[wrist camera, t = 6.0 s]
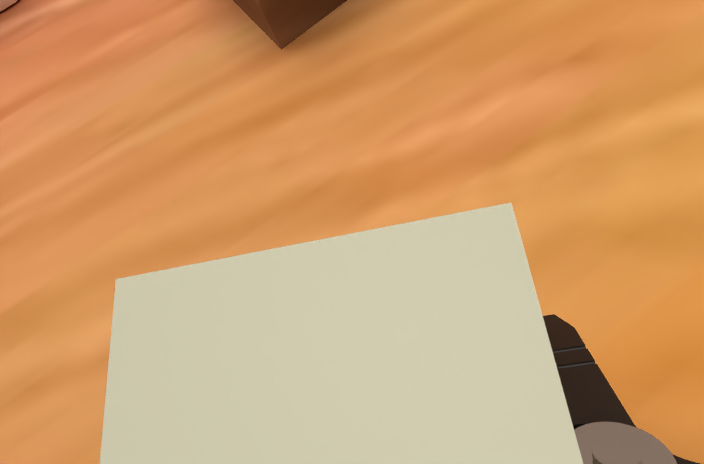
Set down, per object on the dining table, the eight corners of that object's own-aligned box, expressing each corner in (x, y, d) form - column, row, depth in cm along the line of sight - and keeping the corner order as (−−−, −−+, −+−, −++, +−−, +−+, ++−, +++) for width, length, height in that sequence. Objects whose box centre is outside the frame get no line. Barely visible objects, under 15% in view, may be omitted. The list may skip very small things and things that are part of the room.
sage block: (524, 532, 12) (680, 818, 3) (349, 548, 13) (68, 819, 4) (483, 351, 14) (511, 202, 5) (333, 373, 15) (116, 279, 6)
